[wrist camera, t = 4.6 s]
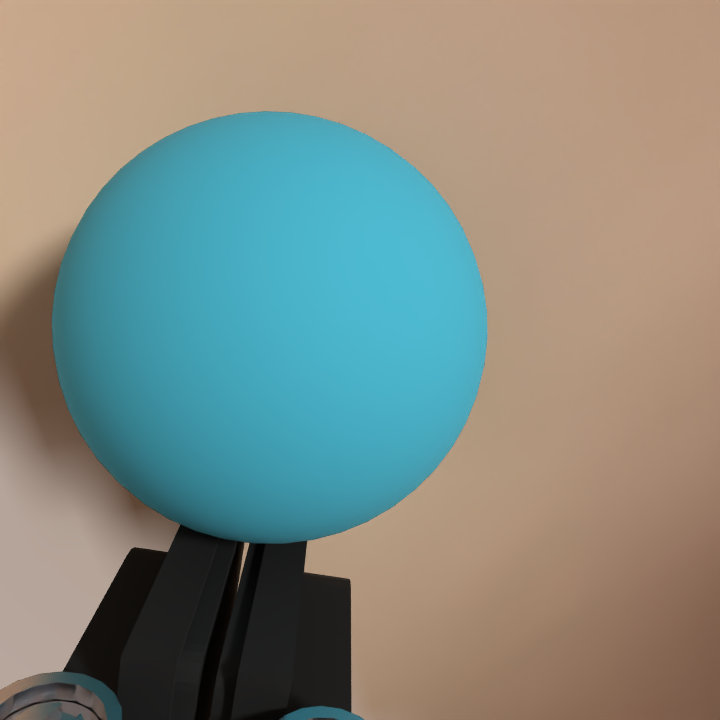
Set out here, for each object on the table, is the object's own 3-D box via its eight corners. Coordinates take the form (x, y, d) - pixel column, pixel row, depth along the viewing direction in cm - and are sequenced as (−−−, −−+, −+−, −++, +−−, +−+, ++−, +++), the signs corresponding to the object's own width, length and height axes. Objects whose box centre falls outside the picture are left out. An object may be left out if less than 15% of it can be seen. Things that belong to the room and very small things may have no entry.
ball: (469, 252, 11) (590, 73, 6) (410, 558, 10) (496, 635, 5) (174, 186, 11) (55, -52, 6) (87, 488, 10) (-137, 499, 5)
